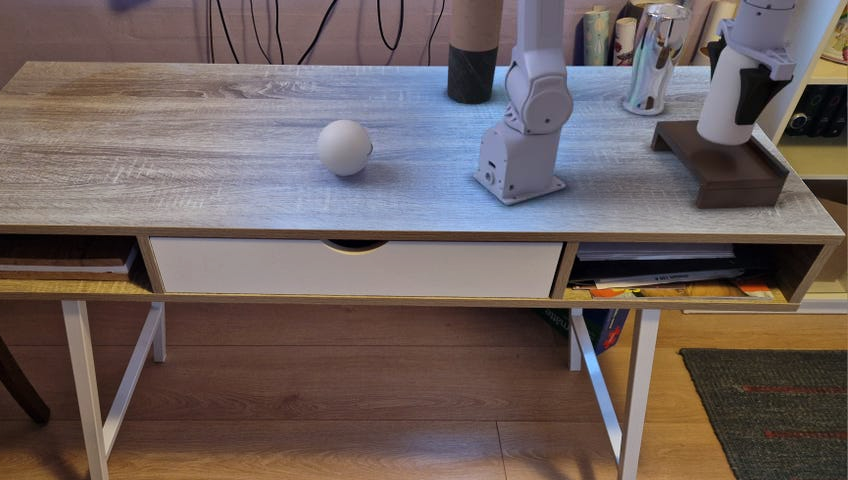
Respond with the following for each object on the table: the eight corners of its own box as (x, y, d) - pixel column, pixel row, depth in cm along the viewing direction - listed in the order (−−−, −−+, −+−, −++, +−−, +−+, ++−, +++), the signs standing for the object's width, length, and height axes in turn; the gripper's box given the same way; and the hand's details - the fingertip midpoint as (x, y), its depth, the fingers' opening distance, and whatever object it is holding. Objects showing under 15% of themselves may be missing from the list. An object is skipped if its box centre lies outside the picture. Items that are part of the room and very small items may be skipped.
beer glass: (668, 118, 107) (697, 20, 98) (621, 114, 108) (645, 16, 99) (663, 99, 113) (689, 4, 103) (618, 95, 114) (640, 1, 104)
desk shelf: (698, 208, 88) (710, 174, 85) (649, 146, 101) (658, 114, 98) (775, 205, 89) (790, 171, 86) (717, 144, 101) (728, 112, 98)
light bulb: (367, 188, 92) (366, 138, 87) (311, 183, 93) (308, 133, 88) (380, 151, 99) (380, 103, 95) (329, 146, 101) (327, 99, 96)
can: (725, 120, 94) (756, 31, 87) (760, 142, 90) (796, 51, 82) (684, 127, 93) (712, 38, 85) (718, 151, 88) (751, 58, 80)
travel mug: (487, 107, 110) (502, -25, 98) (440, 101, 112) (449, -31, 100) (496, 88, 116) (512, -40, 104) (451, 82, 118) (461, -45, 105)
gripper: (840, 23, 75) (792, 137, 84) (770, -19, 86) (734, 86, 95) (776, 24, 75) (734, 139, 83) (714, -18, 86) (683, 87, 94)
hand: (730, 111), depth 89 cm, fingers closed on can, 6 cm apart
